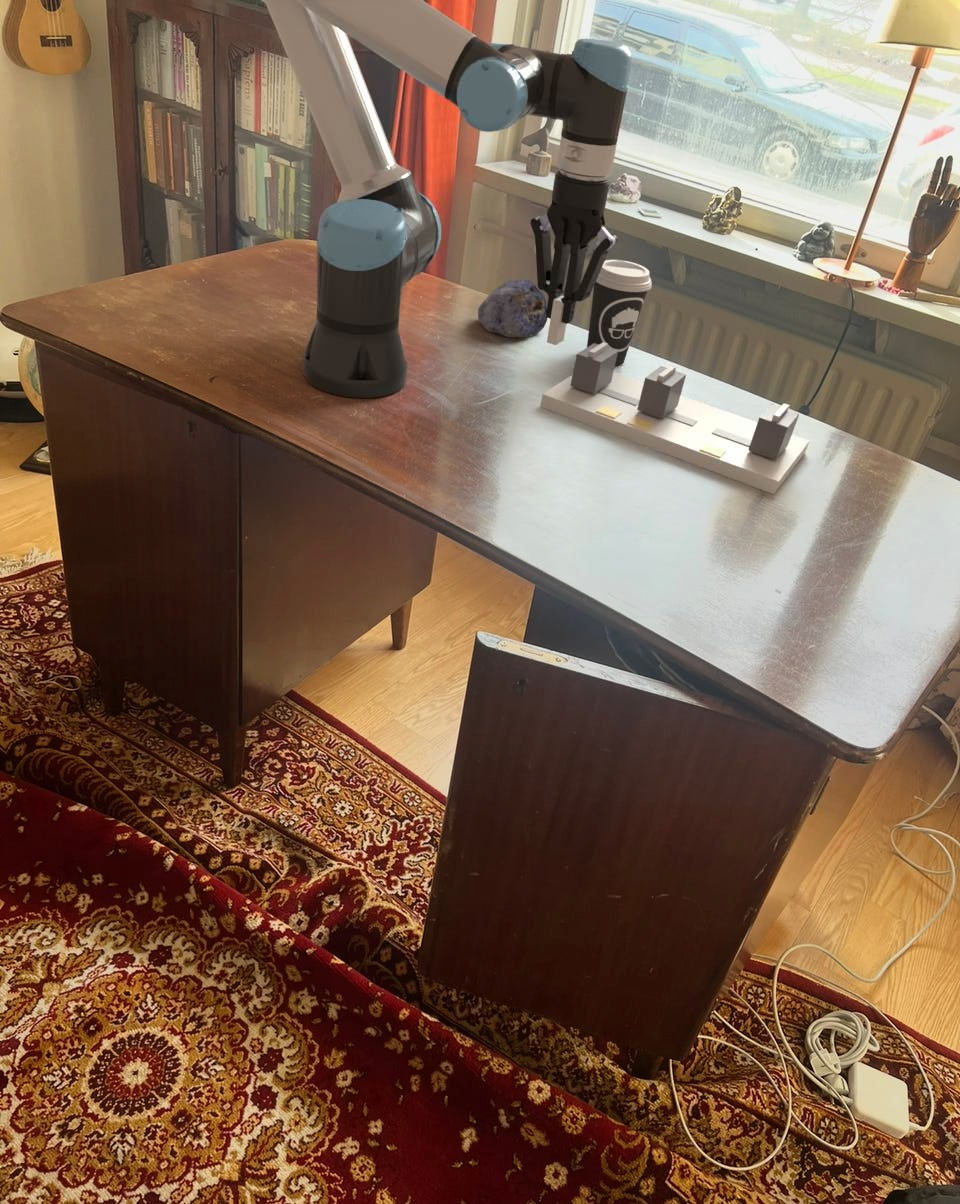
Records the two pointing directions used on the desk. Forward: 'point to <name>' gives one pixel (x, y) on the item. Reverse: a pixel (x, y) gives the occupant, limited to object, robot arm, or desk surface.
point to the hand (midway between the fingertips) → (555, 341)
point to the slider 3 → (773, 431)
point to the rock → (514, 310)
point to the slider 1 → (594, 368)
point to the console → (678, 431)
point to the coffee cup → (617, 305)
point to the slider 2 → (661, 391)
